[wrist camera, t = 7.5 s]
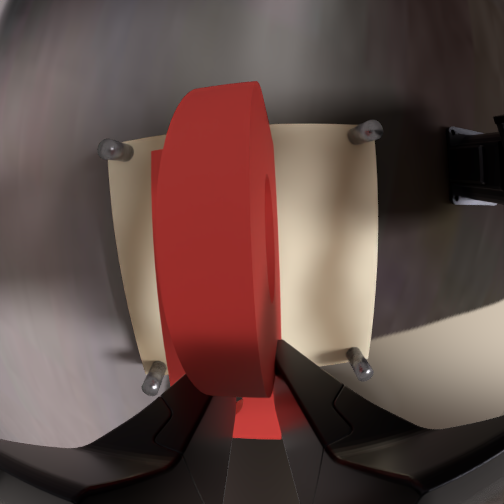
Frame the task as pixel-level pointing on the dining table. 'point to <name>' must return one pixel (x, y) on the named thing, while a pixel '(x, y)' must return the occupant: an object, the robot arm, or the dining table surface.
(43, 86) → the dining table surface
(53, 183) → the dining table surface
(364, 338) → the peg board
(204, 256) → the bracket
